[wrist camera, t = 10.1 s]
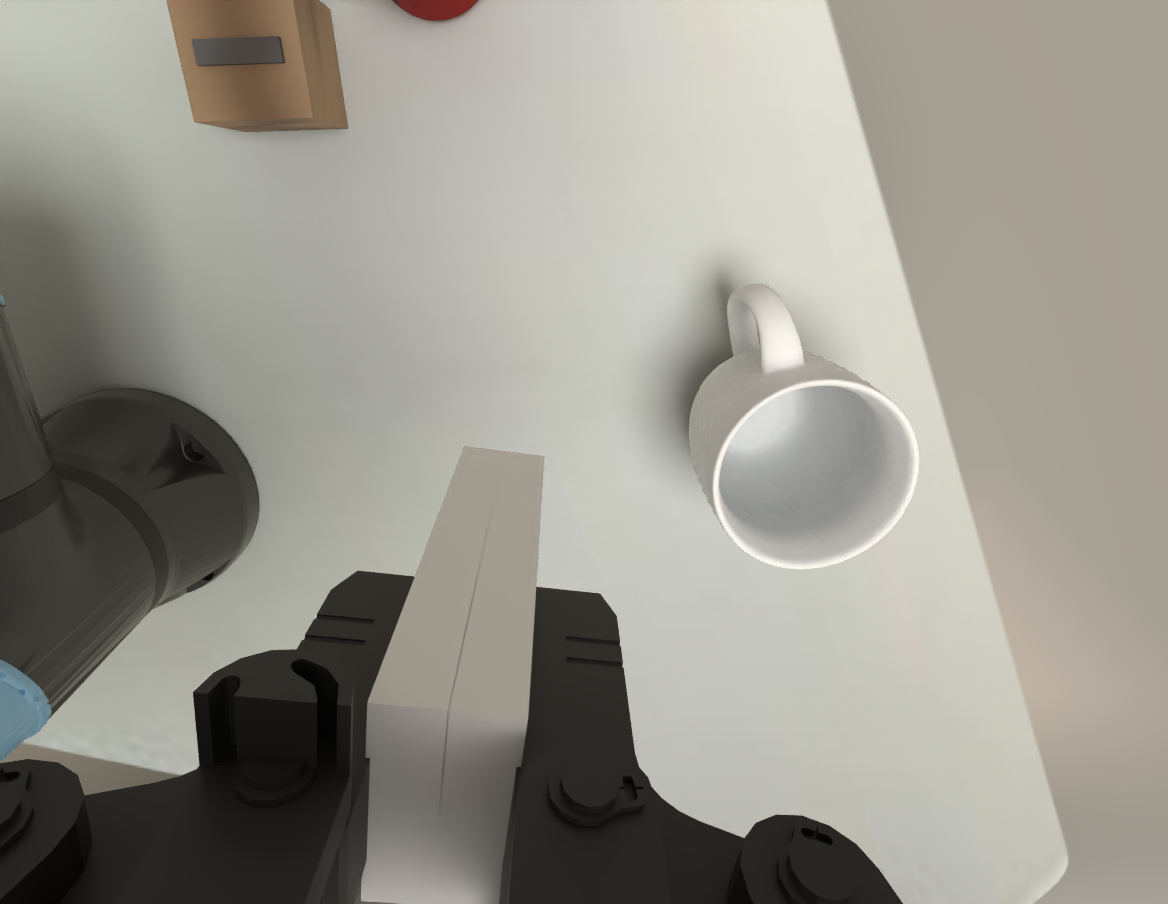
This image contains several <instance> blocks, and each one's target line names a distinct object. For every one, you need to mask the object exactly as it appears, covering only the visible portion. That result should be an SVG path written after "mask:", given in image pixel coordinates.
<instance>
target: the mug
mask: <svg viewBox="0 0 1168 904" xmlns="http://www.w3.org/2000/svg"><path fill="white" fill-rule="evenodd" d="M727 319H728V327H729V334H730V340H731V346H732V352H733V357H732V358H730V359H728V360H726V361H725V362H723V363H722V364H721V365H719V366H717V367H716V369H714V370H713V371H712V372H711V374H710V375H708V376H707V377H706V379H705V380H704V382H703V383H702V385H701V386H700V388H699V390H698V392H697V394H696V397H695V399H694V402H693V405H692V407H691V413H690V416H689V418H690V419H689V421H690V422H689V436H688V438H689V442H690V452H691V459H692V462H693V463H694V469H695V471H696V473H697V475H698V480H699V482H700V484H701V485H702V489H703V492H704V493H705V495H706V497H707V500H708V503H709V504H710V505H711V507H712V509H713V511H714V514H715V515H716V516H717V518H718V520H719V522H720V524H721V526H722V527H723V529H724V531H725V532H726V534H727V535H728V536H729V537H730V539H731V540H732V541H733V542H734V543H735V544H736V545H737V546H738V547H739V548H741V549H742V550H743V551H744V552H746V553H747V554H749V555H750V556H752V557H754V558H756V559H758V560H760V561H762V562H764V563H767V564H770V565H774V566H777V567H782V568H790V569H812V568H819V567H825V566H829V565H832V564H836V563H839V562H842V561H844V560H847V559H849V558H851V557H853V556H855V555H857V554H859V553H861V552H863V551H865V550H866V549H868V548H869V547H871V546H872V545H873V544H875V543H876V542H878V541H879V540H880V539H881V538H882V537H883V536H885V535H886V534H887V533H888V532H889V531H890V530H891V528H892V527H893V526H894V525H895V524H896V522H897V521H898V520H899V519H900V517H901V516H902V514H903V513H904V511H905V509H906V507H907V506H908V504H909V502H910V500H911V497H912V495H913V492H914V489H915V486H916V482H917V477H918V472H919V449H918V444H917V439H916V436H915V433H914V430H913V428H912V426H911V424H910V422H909V420H908V419H907V417H906V416H905V414H904V413H903V412H902V410H901V409H900V408H899V407H898V406H897V405H896V404H895V403H894V402H893V401H892V400H891V399H890V398H888V397H887V396H885V395H884V394H883V393H881V392H880V391H879V390H877V389H876V388H874V387H873V386H872V385H871V384H870V383H869V382H867V381H864V380H862V379H860V378H859V377H858V376H857V375H856V374H854V373H851V372H849V371H848V370H847V369H846V368H844V367H841V366H838V365H836V364H835V363H834V362H832V361H827V360H825V359H824V358H823V357H820V356H815V355H813V354H811V353H807V352H803V350H802V346H801V342H800V339H799V335H798V332H797V330H796V327H795V325H794V322H793V320H792V317H791V315H790V313H789V310H788V309H787V307H786V305H785V304H784V302H783V301H782V299H781V298H780V296H779V295H778V294H777V293H776V292H775V291H774V290H773V289H772V288H770V287H769V286H767V285H763V284H751V285H746V286H743V287H740V288H738V289H736V290H735V291H734V292H733V293H732V294H731V295H730V297H729V299H728V302H727ZM756 322H757V324H756ZM757 326H758V330H759V337H760V344H759V339H758V333H757Z"/></svg>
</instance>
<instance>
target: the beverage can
mask: <svg viewBox="0 0 1168 904" xmlns="http://www.w3.org/2000/svg"><path fill="white" fill-rule="evenodd" d="M393 1H394V2H395V3H396V4H397V5H398V6H400V7H401V8H402V9H404V10H405V11H407V12H408V13H410V14H412V15H414V16H417V17H419V18H423V19H427V20H447V19H451V18H454V17H456V16H459V15H461V14H463V13H464V12H466V11H467V10H468V9H470V8H471V7H472V6H473V5H474V4H475V3H476V2H477V1H478V0H393Z"/></svg>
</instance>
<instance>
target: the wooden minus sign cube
mask: <svg viewBox="0 0 1168 904" xmlns="http://www.w3.org/2000/svg"><path fill="white" fill-rule="evenodd" d="M167 5H168V9H169V14H170V18H171V22H172V27H173V31H174V35H175V40H176V44H177V48H178V53H179V57H180V61H181V66H182V70H183V75H184V79H185V83H186V88H187V92H188V96H189V101H190V105H191V109H192V114H193V118H194V122H197V123H202V124H207V125H212V126H218V127H223V128H228V129H233V130H238V131H244V132H262V131H289V130H317V129H344V128H348V124H347V118H346V111H345V105H344V98H343V92H342V85H341V78H340V72H339V65H338V59H337V52H336V46H335V39H334V32H333V26H332V19H331V13H330V9H329V8H327V7H326V6H325V5H324V4H322V3H321V2H320V1H319V0H167Z"/></svg>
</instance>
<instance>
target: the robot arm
mask: <svg viewBox="0 0 1168 904" xmlns="http://www.w3.org/2000/svg"><path fill="white" fill-rule="evenodd" d="M4 306H6V303H5V300H4V298H3V297H2V296H1V295H0V762H1V761H2V760H3V759H4V758H5V757H6V756H7V755H9V754H10V753H11V752H12V751H13V750H14V749H15V748H16V747H17V746H18V745H20V744H21V743H22V742H23V741H24V740H25V739H27V738H30V737H31V736H33V735H35V734H36V733H37V732H39V731H40V730H41V728H42V727H43V726H44V725H45V724H46V723H47V720H48V719H49V718H50V717H51V716H52V715H53V714H54V713H55V712H56V711H57V710H58V709H59V708H60V707H61V705H62V704H63V703H64V702H65V701H66V700H67V699H68V698H69V697H70V696H71V695H72V694H73V693H74V692H75V691H76V690H77V688H78V687H79V686H80V685H81V684H82V683H83V682H84V681H85V680H86V679H87V678H88V677H89V676H90V675H91V674H92V672H93V671H94V670H95V669H96V668H97V667H98V666H99V665H100V664H101V663H102V662H103V661H104V660H105V659H106V658H107V657H108V655H109V654H110V653H111V652H112V651H113V650H114V649H115V648H116V647H117V646H118V645H119V644H120V643H121V642H122V641H123V640H124V638H125V637H126V636H127V635H128V634H129V633H130V632H131V631H132V630H133V629H134V628H135V627H136V626H137V625H138V624H139V622H140V621H141V620H142V619H143V618H144V617H145V616H146V615H147V614H148V613H149V612H150V611H151V610H152V609H154V608H156V607H158V606H161V605H163V604H165V603H167V602H170V601H172V600H174V599H176V598H178V597H180V596H182V595H184V594H186V593H188V592H191V591H194V590H196V589H198V588H200V587H202V586H204V585H206V584H208V583H210V582H211V581H213V580H214V579H216V578H217V577H218V576H220V575H221V574H222V573H223V572H224V571H225V570H227V569H228V567H229V566H230V565H231V564H232V563H233V562H234V561H235V560H236V558H237V557H238V556H239V555H240V554H241V553H242V552H243V550H244V549H245V548H246V547H247V545H248V543H249V542H250V540H251V538H252V536H253V533H254V531H255V528H256V524H257V519H258V512H259V500H258V492H257V487H256V483H255V480H254V477H253V474H252V471H251V469H250V467H249V465H248V463H247V461H246V459H245V457H244V456H243V454H242V452H241V451H240V450H239V448H238V447H237V445H236V444H235V443H234V442H233V440H232V439H231V438H230V437H229V436H228V435H227V434H226V433H225V432H224V431H223V430H222V429H221V428H220V427H219V426H218V425H217V424H215V423H214V422H213V421H212V420H210V419H209V418H208V417H207V416H205V415H204V414H202V413H201V412H199V411H197V410H196V409H194V408H192V407H191V406H189V405H187V404H185V403H183V402H180V401H178V400H176V399H173V398H170V397H168V396H165V395H161V394H158V393H154V392H149V391H144V390H136V389H111V390H104V391H99V392H95V393H92V394H88V395H86V396H83V397H81V398H78V399H76V400H74V401H71V402H69V403H67V404H65V405H62V406H60V407H58V408H56V409H55V410H53V411H51V412H50V413H48V414H47V415H45V416H44V417H43V418H41V419H40V417H39V414H38V411H37V408H36V405H35V402H34V399H33V396H32V393H31V390H30V387H29V384H28V382H27V379H26V376H25V373H24V370H23V367H22V364H21V361H20V358H19V355H18V352H17V349H16V346H15V343H14V340H13V337H12V334H11V331H10V328H9V325H8V322H7V319H6V316H5V313H4V310H3V307H4ZM543 468H544V456H538V455H530V454H522V453H514V452H506V451H497V450H489V449H481V448H473V447H465V446H464V448H463V451H462V453H461V456H460V459H459V461H458V464H457V467H456V469H455V472H454V475H453V477H452V480H451V482H450V485H449V488H448V490H447V493H446V496H445V498H444V501H443V504H442V506H441V509H440V512H439V514H438V517H437V519H436V522H435V525H434V527H433V530H432V533H431V535H430V538H429V541H428V543H427V546H426V549H425V551H424V554H423V557H422V559H421V562H420V564H419V567H418V570H417V572H416V575H415V577H413V576H404V575H394V574H384V573H375V572H365V571H357V572H355V573H354V574H352V575H351V576H350V577H348V578H347V579H345V580H344V581H343V582H341V583H340V584H338V585H337V586H336V587H334V588H333V589H331V591H330V593H329V594H328V596H327V598H326V600H325V601H324V603H323V605H322V606H321V608H320V610H319V612H318V613H317V618H316V619H314V620H313V622H312V624H311V626H310V627H309V629H308V631H307V632H306V634H305V639H304V640H302V641H301V643H300V645H299V646H298V648H297V649H296V650H271V651H267V652H263V653H259V654H255V655H252V656H248V657H244V658H241V659H239V660H237V661H235V662H233V663H231V664H229V665H227V666H225V667H224V668H222V669H220V670H218V671H216V672H214V673H213V674H212V675H211V676H210V677H209V678H208V679H207V680H206V681H204V682H203V683H202V684H201V685H200V686H199V687H198V688H197V689H196V690H195V691H194V692H193V698H194V709H195V720H196V731H197V742H198V753H199V764H200V765H199V767H198V768H197V769H196V770H194V771H191V772H189V773H187V774H184V775H182V776H179V777H175V778H171V779H167V780H164V781H160V782H156V783H151V784H146V785H140V786H134V787H129V788H123V789H118V790H112V791H107V792H101V793H96V794H90V795H84V793H83V790H82V787H81V784H80V781H79V777H78V775H77V774H75V773H74V772H72V771H71V770H69V769H67V768H66V767H64V766H63V765H61V764H60V763H57V762H48V761H40V760H31V759H26V760H19V761H13V762H7V763H0V904H354V902H355V898H356V895H357V891H358V888H359V884H360V881H361V878H362V888H361V901H371V902H387V903H402V904H903V903H902V902H901V900H900V899H899V897H898V896H897V895H896V893H895V892H894V890H893V889H892V887H891V886H890V885H889V883H888V882H887V880H886V879H885V877H884V876H883V875H882V873H881V872H880V870H879V869H878V868H877V867H876V866H875V864H874V863H873V862H872V861H871V860H870V859H869V858H868V857H867V856H866V854H865V853H864V852H863V851H862V850H861V849H860V848H859V847H858V846H857V844H855V843H854V842H852V841H851V840H849V839H848V838H846V837H845V836H844V835H842V834H841V833H839V832H838V831H836V830H835V829H833V828H832V827H831V826H829V825H826V824H823V823H820V822H818V821H815V820H812V819H810V818H807V817H804V816H797V815H774V816H772V817H769V818H767V819H764V820H762V821H760V822H757V823H755V825H754V826H753V827H752V829H751V830H750V832H749V833H748V834H747V836H746V837H745V838H742V837H740V836H737V835H734V834H732V833H729V832H726V831H724V830H721V829H719V828H716V827H713V826H711V825H708V824H705V823H703V822H700V821H698V820H696V819H694V818H692V817H690V816H688V815H686V814H684V813H682V812H680V811H678V810H677V809H675V808H674V807H673V806H671V805H670V804H669V803H667V802H666V801H665V800H663V799H662V798H661V797H660V796H659V795H658V794H657V793H656V791H655V790H654V789H653V788H652V787H651V784H650V782H649V779H648V777H647V776H646V775H645V774H644V772H643V771H642V770H641V769H640V768H639V766H638V762H637V758H636V755H635V751H634V743H633V736H632V728H631V721H630V713H629V705H628V698H627V690H626V683H625V675H624V668H622V664H623V660H622V653H621V646H620V638H619V630H618V623H617V616H616V615H615V613H614V612H613V611H612V609H611V608H610V606H609V605H608V604H607V602H606V601H605V600H604V598H603V597H602V596H601V594H599V593H589V592H580V591H570V590H561V589H551V588H542V587H536V582H537V566H538V549H539V533H540V517H541V500H542V484H543Z"/></svg>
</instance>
